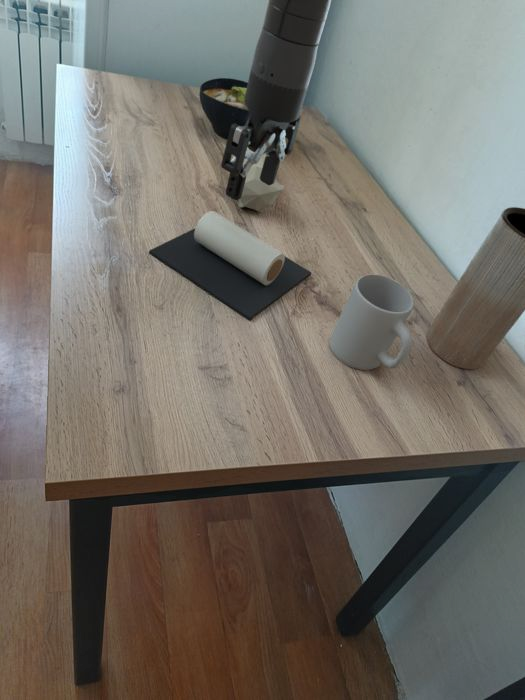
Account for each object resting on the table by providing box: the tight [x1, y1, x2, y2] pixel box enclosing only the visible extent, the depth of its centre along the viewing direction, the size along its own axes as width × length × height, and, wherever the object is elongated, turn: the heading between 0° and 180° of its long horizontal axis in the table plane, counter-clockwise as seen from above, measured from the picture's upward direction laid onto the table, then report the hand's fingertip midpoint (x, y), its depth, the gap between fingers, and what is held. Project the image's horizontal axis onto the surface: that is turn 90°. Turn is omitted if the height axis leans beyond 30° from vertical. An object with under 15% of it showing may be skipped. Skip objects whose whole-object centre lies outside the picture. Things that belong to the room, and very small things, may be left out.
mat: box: [148, 228, 312, 321], centre depth 87 cm, size 20×18×1 cm
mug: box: [328, 273, 415, 371], centre depth 75 cm, size 12×8×11 cm
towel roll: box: [194, 210, 286, 285], centre depth 85 cm, size 6×14×6 cm, turn 55°
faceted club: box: [238, 147, 285, 212], centre depth 106 cm, size 9×8×25 cm
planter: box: [426, 206, 525, 370], centre depth 79 cm, size 10×10×23 cm
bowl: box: [199, 77, 250, 140], centre depth 121 cm, size 17×17×10 cm
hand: (250, 189), depth 78 cm, fingers open, 8 cm apart
